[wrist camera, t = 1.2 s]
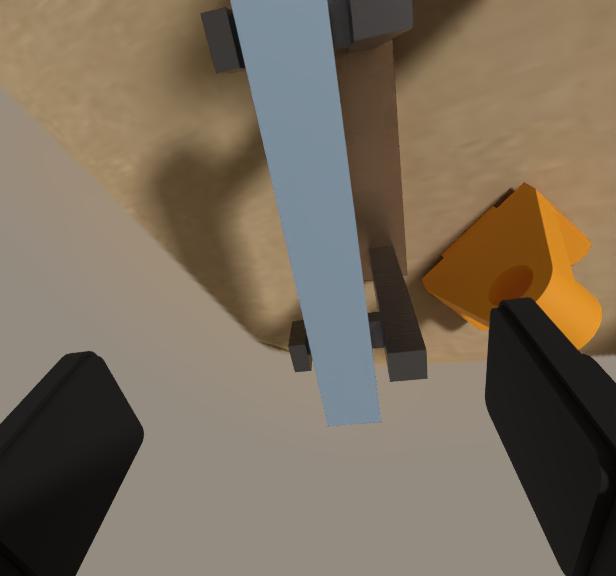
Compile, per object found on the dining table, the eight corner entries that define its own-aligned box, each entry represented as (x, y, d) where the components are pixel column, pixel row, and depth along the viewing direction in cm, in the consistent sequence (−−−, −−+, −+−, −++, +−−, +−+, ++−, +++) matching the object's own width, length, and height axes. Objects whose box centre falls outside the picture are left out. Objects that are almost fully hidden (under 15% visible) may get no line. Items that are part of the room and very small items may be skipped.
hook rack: (386, -10, 24) (443, -101, 11) (404, 267, 34) (446, 390, 21) (258, 21, 25) (176, -29, 12) (311, 279, 35) (296, 402, 22)
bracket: (474, 316, 36) (530, 416, 26) (419, 274, 34) (455, 363, 24) (577, 233, 31) (696, 314, 21) (519, 179, 30) (618, 239, 19)
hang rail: (317, -78, 14) (310, -126, 10) (375, 372, 24) (381, 422, 21) (239, -56, 14) (208, -96, 11) (329, 376, 25) (327, 426, 21)
